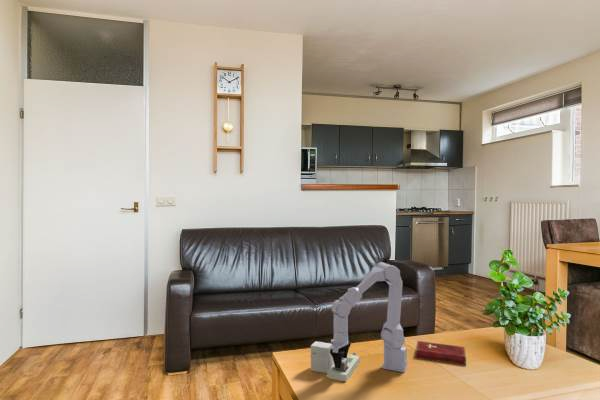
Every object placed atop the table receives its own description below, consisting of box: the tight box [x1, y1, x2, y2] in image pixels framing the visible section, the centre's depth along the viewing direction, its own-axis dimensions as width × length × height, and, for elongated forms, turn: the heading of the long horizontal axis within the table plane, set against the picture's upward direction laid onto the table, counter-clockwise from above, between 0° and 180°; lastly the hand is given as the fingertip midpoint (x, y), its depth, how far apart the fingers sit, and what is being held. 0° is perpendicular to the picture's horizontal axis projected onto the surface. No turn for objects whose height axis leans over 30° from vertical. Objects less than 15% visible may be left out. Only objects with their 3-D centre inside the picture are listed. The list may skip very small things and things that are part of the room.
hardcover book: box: [414, 340, 467, 365], centre depth 174 cm, size 12×21×4 cm, turn 68°
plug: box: [335, 358, 347, 372], centre depth 155 cm, size 4×4×6 cm
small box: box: [310, 341, 334, 374], centre depth 160 cm, size 8×6×10 cm
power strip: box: [326, 352, 361, 383], centre depth 163 cm, size 8×27×3 cm, turn 156°
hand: (340, 363), depth 155 cm, fingers open, 7 cm apart
